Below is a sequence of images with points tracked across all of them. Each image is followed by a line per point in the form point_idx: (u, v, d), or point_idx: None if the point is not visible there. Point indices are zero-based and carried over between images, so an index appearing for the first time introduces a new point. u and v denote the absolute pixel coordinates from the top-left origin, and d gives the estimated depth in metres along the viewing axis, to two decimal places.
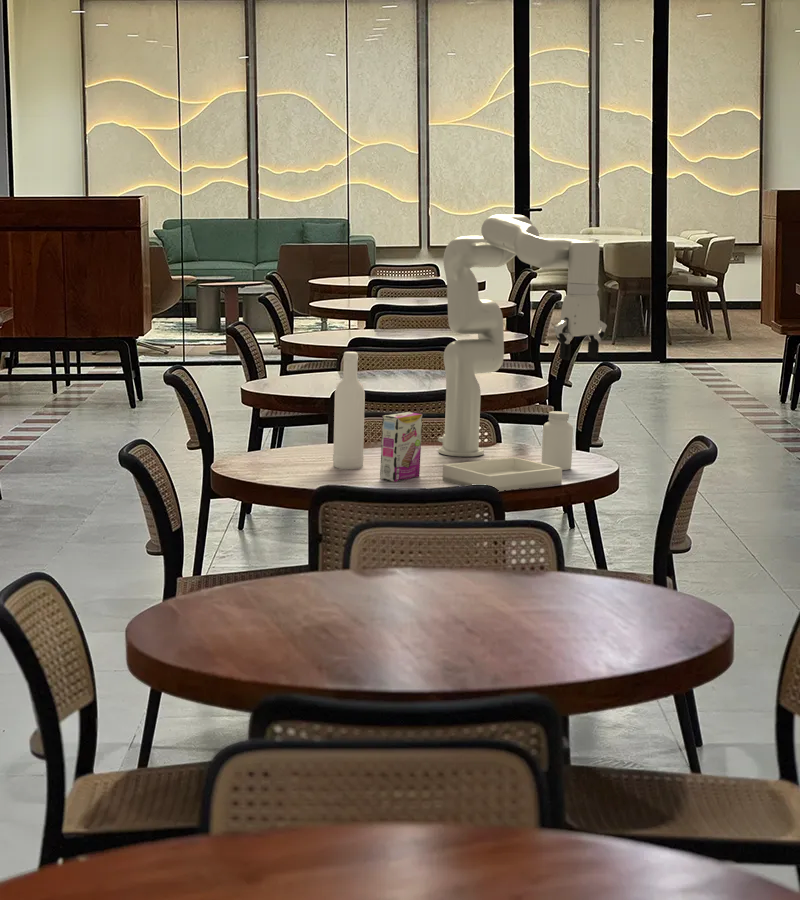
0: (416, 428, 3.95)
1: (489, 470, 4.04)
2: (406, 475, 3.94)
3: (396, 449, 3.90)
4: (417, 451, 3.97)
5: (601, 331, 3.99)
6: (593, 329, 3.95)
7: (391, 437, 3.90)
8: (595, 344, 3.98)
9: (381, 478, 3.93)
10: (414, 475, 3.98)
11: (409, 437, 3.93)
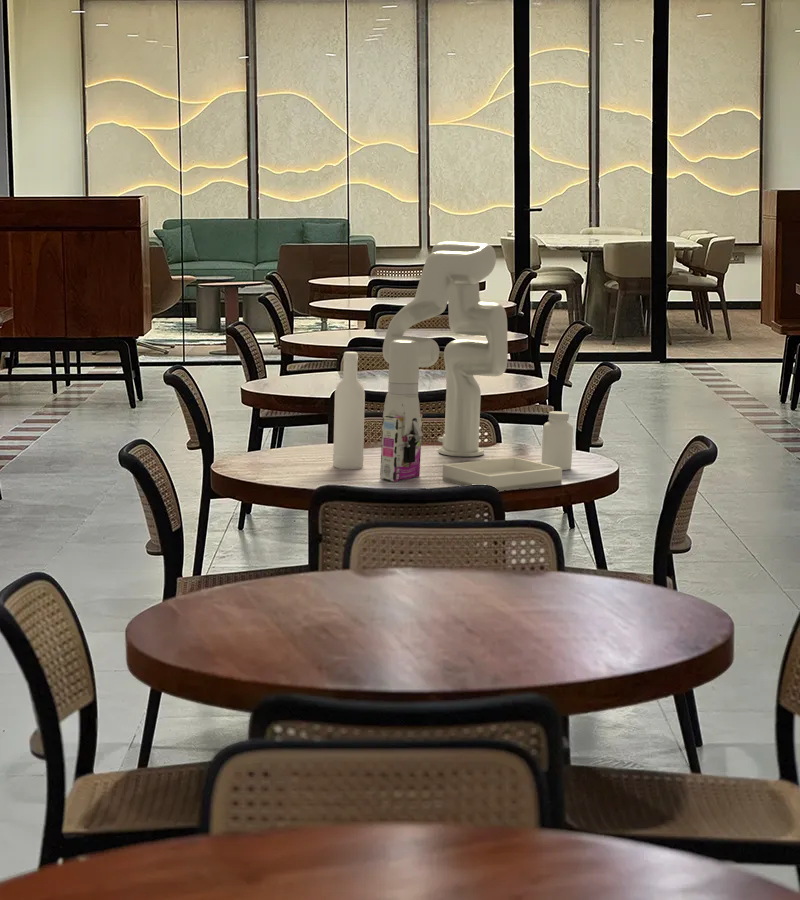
0: None
1: (489, 470, 4.04)
2: (406, 475, 3.94)
3: (396, 449, 3.90)
4: (417, 451, 3.97)
5: None
6: None
7: (391, 437, 3.90)
8: None
9: (381, 478, 3.93)
10: (414, 475, 3.97)
11: (409, 437, 3.93)
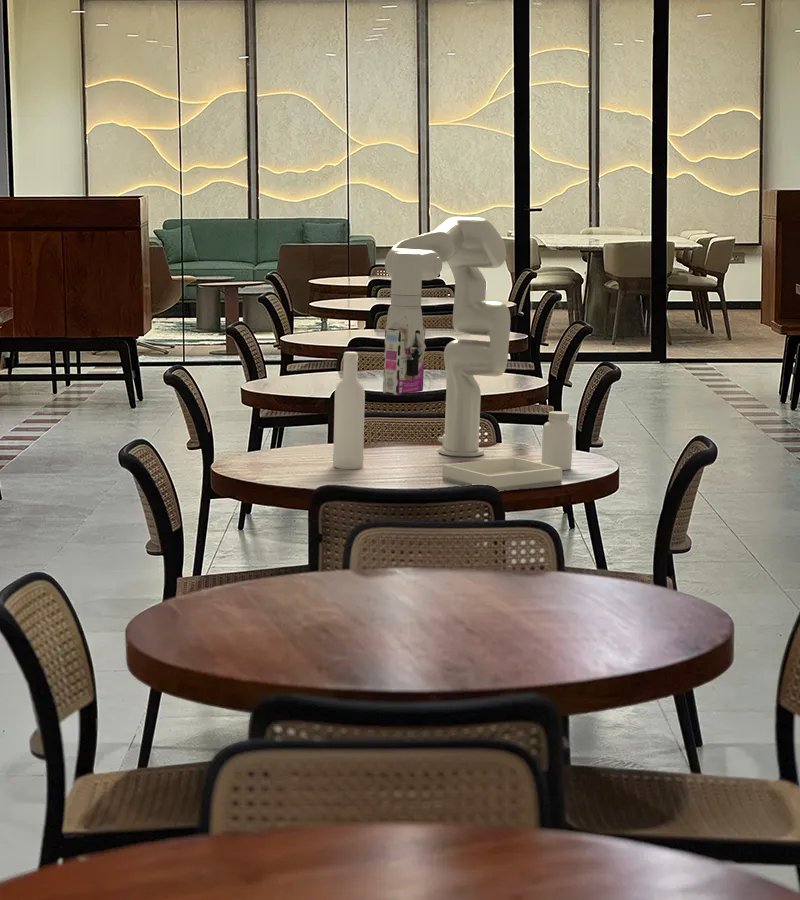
0: None
1: (489, 470, 4.04)
2: (409, 388, 3.91)
3: (398, 361, 3.86)
4: (420, 365, 3.94)
5: None
6: None
7: (393, 350, 3.86)
8: None
9: (384, 391, 3.90)
10: (417, 389, 3.94)
11: (412, 350, 3.90)
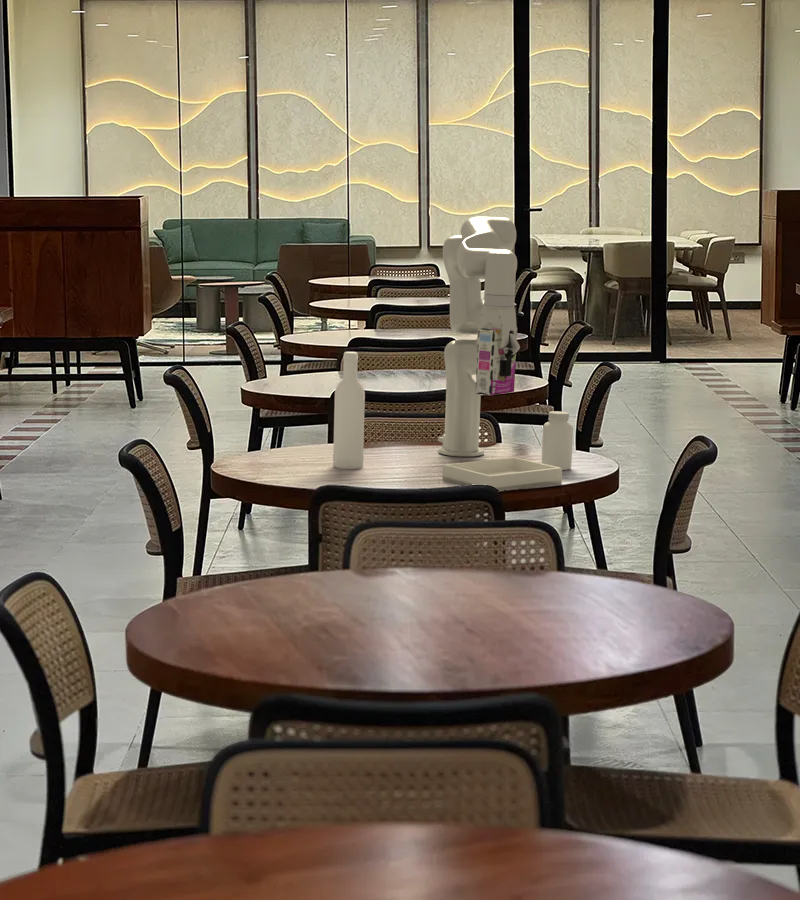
0: None
1: (489, 470, 4.04)
2: (501, 389, 3.88)
3: (492, 361, 3.83)
4: (512, 365, 3.91)
5: None
6: None
7: (487, 350, 3.84)
8: None
9: (477, 392, 3.87)
10: (509, 390, 3.91)
11: None
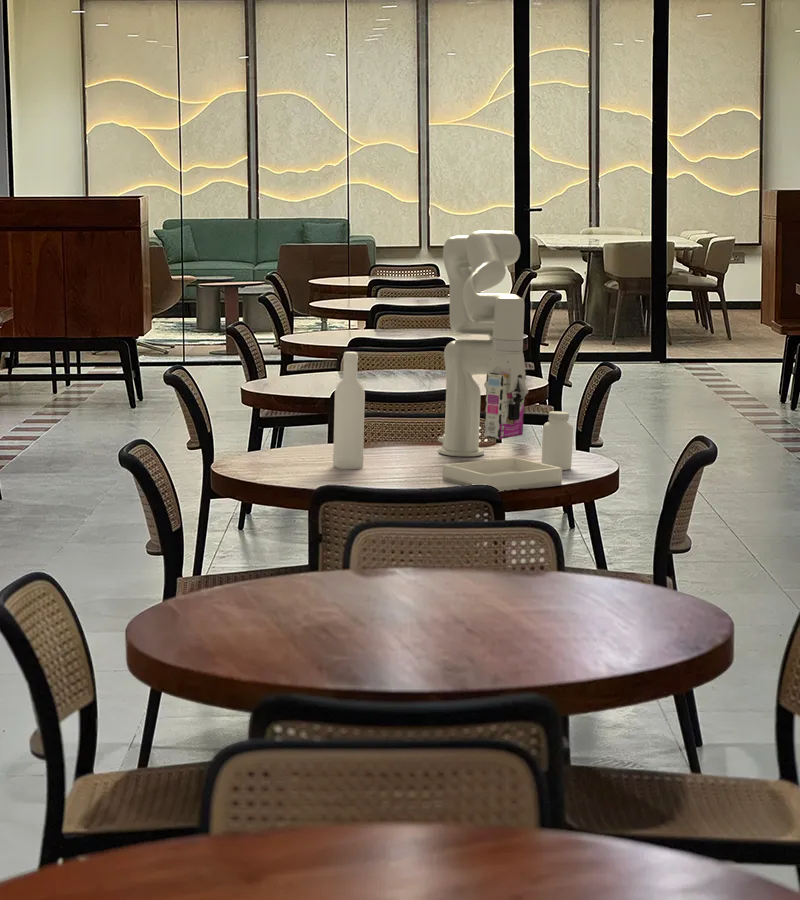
0: None
1: (489, 470, 4.04)
2: (510, 432, 3.92)
3: (501, 405, 3.87)
4: (520, 409, 3.95)
5: None
6: None
7: (495, 394, 3.87)
8: None
9: (485, 435, 3.91)
10: (518, 433, 3.95)
11: None
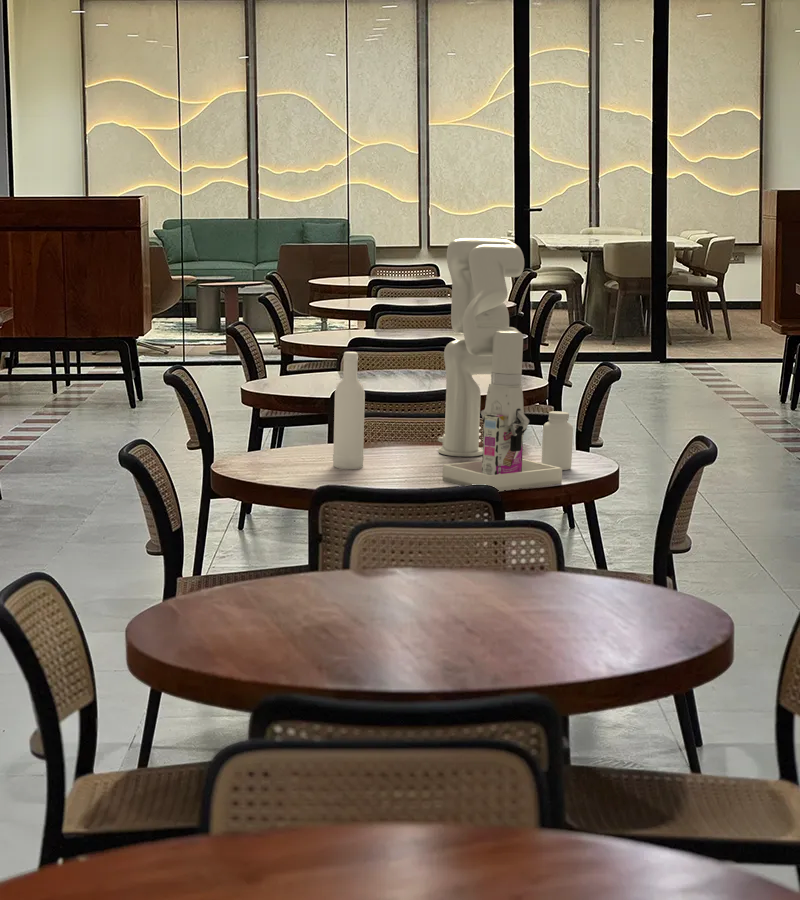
0: None
1: None
2: None
3: (497, 447, 3.89)
4: None
5: None
6: None
7: (492, 436, 3.90)
8: None
9: None
10: None
11: (510, 436, 3.92)
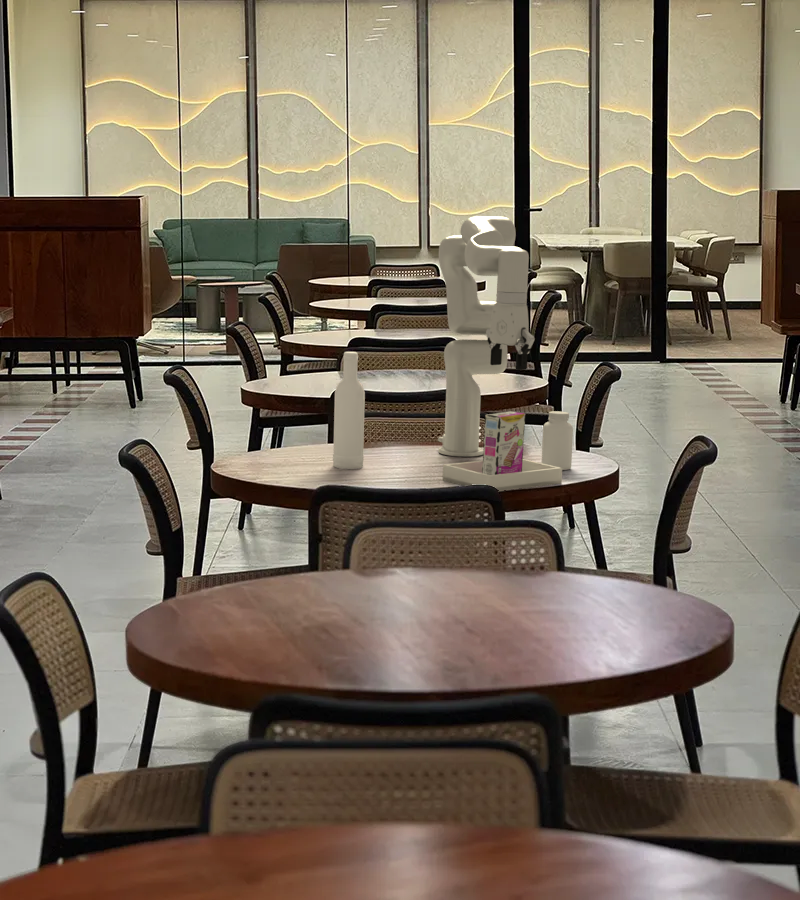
0: (519, 427, 3.95)
1: None
2: None
3: (498, 448, 3.89)
4: (519, 451, 3.96)
5: None
6: None
7: (493, 436, 3.90)
8: (500, 350, 3.98)
9: None
10: None
11: (511, 437, 3.92)
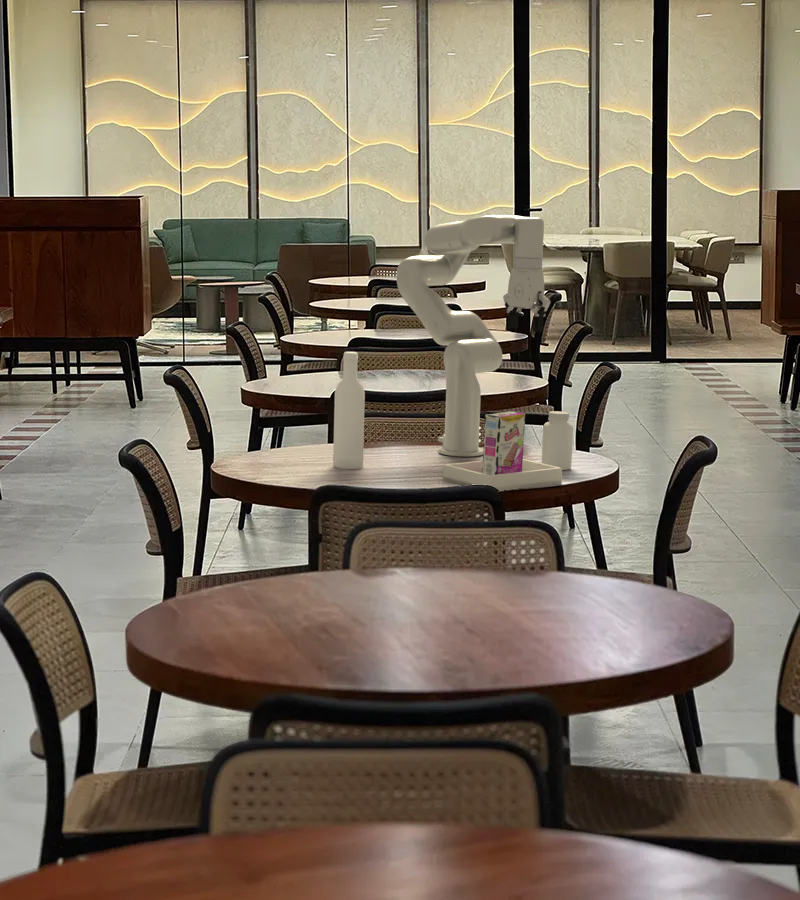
0: (519, 427, 3.95)
1: None
2: None
3: (498, 448, 3.89)
4: (519, 451, 3.96)
5: None
6: None
7: (493, 436, 3.90)
8: (517, 315, 4.18)
9: None
10: None
11: (511, 437, 3.92)
